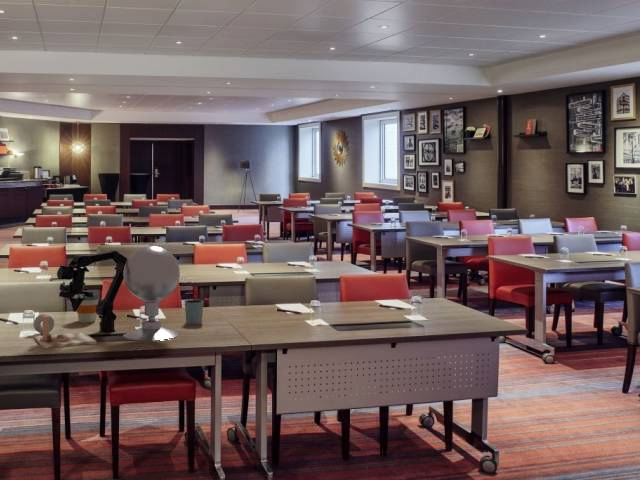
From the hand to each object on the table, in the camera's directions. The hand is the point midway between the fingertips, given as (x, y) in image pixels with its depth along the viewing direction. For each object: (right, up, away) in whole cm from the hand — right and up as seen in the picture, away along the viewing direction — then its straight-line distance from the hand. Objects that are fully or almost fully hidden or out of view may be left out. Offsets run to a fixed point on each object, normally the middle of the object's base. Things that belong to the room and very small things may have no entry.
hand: (74, 311), depth 419 cm
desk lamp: (+37, -13, +7) cm, 39 cm away
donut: (-16, -12, +4) cm, 21 cm away
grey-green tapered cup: (+53, -10, +40) cm, 67 cm away
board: (-1, -13, -12) cm, 18 cm away
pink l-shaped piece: (-5, -12, -16) cm, 21 cm away
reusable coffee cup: (-4, -9, +38) cm, 39 cm away
